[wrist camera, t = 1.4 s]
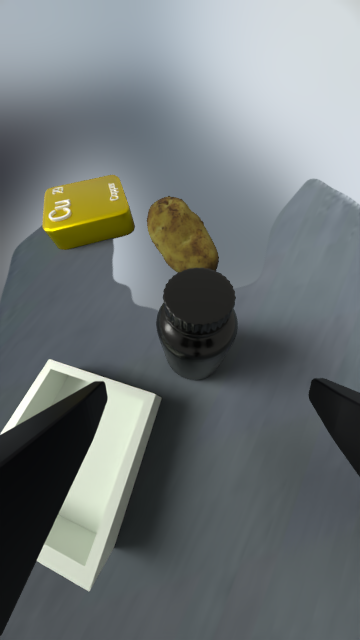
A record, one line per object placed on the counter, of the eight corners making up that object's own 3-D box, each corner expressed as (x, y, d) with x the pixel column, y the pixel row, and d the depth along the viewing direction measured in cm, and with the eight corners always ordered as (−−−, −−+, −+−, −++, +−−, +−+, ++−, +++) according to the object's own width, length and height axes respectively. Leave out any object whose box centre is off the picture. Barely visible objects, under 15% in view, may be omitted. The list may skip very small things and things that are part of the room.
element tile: (137, 233, 34) (130, 208, 30) (58, 254, 32) (38, 229, 28) (124, 195, 41) (116, 169, 37) (58, 210, 39) (42, 185, 35)
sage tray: (113, 548, 14) (89, 591, 11) (1, 490, 17) (-50, 510, 13) (161, 397, 20) (155, 394, 16) (71, 368, 22) (49, 359, 18)
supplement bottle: (224, 380, 20) (263, 343, 10) (165, 380, 21) (139, 344, 10) (218, 326, 23) (242, 255, 13) (167, 327, 24) (150, 257, 13)
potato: (170, 296, 26) (163, 252, 19) (148, 242, 32) (137, 194, 25) (221, 280, 27) (232, 233, 20) (191, 230, 33) (191, 181, 26)
